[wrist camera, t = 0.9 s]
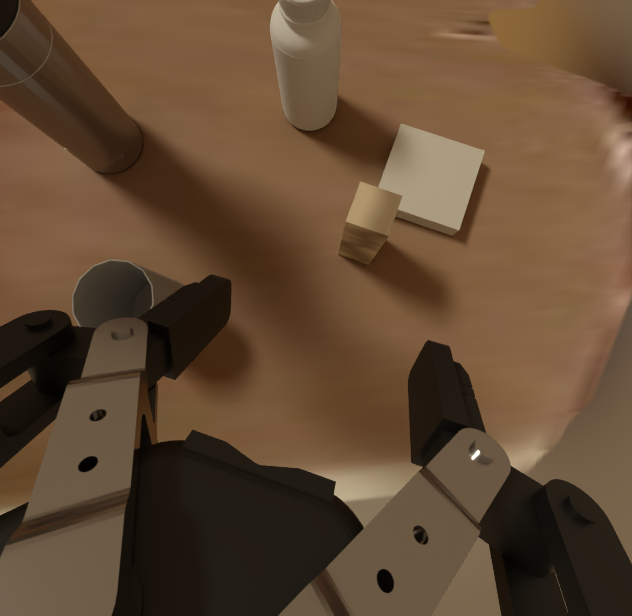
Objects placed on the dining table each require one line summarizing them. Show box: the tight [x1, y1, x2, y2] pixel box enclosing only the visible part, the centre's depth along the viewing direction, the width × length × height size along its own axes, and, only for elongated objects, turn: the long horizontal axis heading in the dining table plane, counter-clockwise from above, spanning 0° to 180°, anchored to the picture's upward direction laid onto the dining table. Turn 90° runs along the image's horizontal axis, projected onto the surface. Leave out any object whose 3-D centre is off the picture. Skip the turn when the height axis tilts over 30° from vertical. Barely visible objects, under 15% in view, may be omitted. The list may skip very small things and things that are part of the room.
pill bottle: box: [270, 0, 342, 131], centre depth 34 cm, size 8×8×15 cm
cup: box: [72, 259, 184, 328], centre depth 34 cm, size 8×8×10 cm
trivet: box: [378, 124, 485, 236], centre depth 39 cm, size 12×12×2 cm
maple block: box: [338, 182, 402, 265], centre depth 34 cm, size 4×4×11 cm
